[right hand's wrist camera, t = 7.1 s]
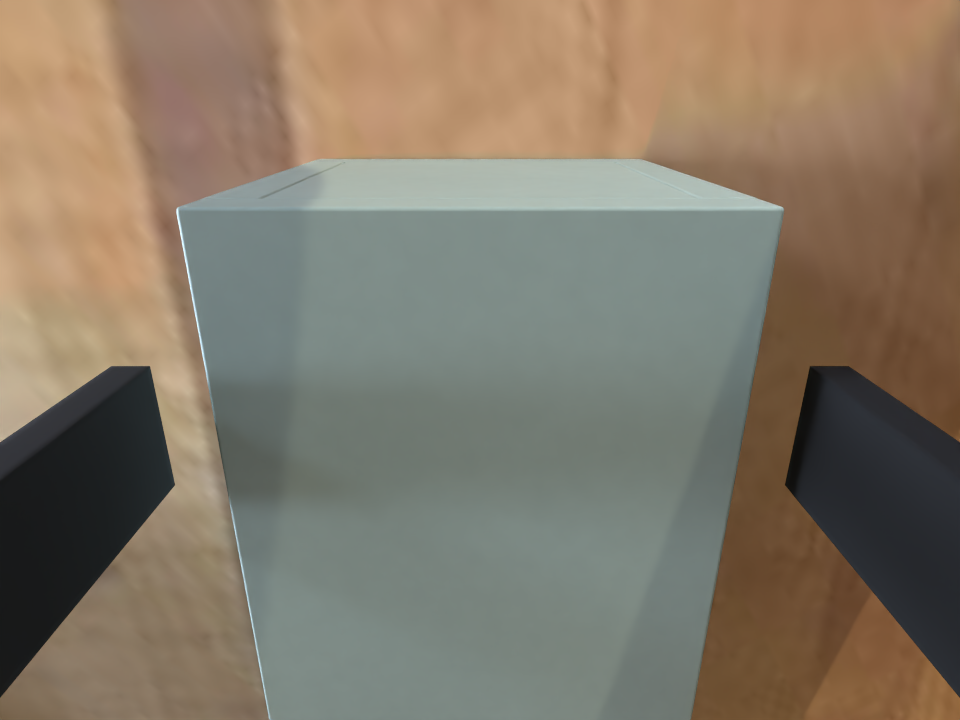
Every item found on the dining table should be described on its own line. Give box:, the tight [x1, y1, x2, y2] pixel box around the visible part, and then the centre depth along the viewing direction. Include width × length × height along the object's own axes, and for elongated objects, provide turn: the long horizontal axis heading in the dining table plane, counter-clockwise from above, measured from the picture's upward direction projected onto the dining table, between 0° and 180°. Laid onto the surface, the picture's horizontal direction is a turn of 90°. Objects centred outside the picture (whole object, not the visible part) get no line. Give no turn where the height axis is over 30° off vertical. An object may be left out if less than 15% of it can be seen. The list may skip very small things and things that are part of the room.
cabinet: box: [177, 159, 784, 720], centre depth 19 cm, size 22×10×10 cm, turn 0°
